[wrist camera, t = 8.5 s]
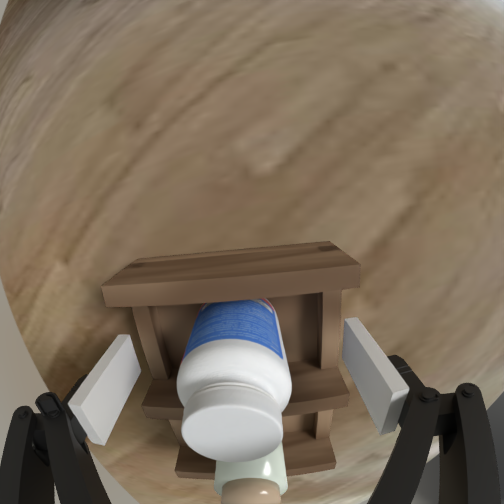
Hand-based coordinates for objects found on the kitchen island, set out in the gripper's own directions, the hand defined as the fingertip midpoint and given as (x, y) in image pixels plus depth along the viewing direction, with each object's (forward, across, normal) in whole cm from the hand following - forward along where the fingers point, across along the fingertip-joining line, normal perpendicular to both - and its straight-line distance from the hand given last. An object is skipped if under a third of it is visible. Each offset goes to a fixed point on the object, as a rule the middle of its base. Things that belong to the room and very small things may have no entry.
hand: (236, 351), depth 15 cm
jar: (+3, 0, -8) cm, 9 cm away
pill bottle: (+4, 0, 0) cm, 4 cm away
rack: (+5, 0, -4) cm, 6 cm away
